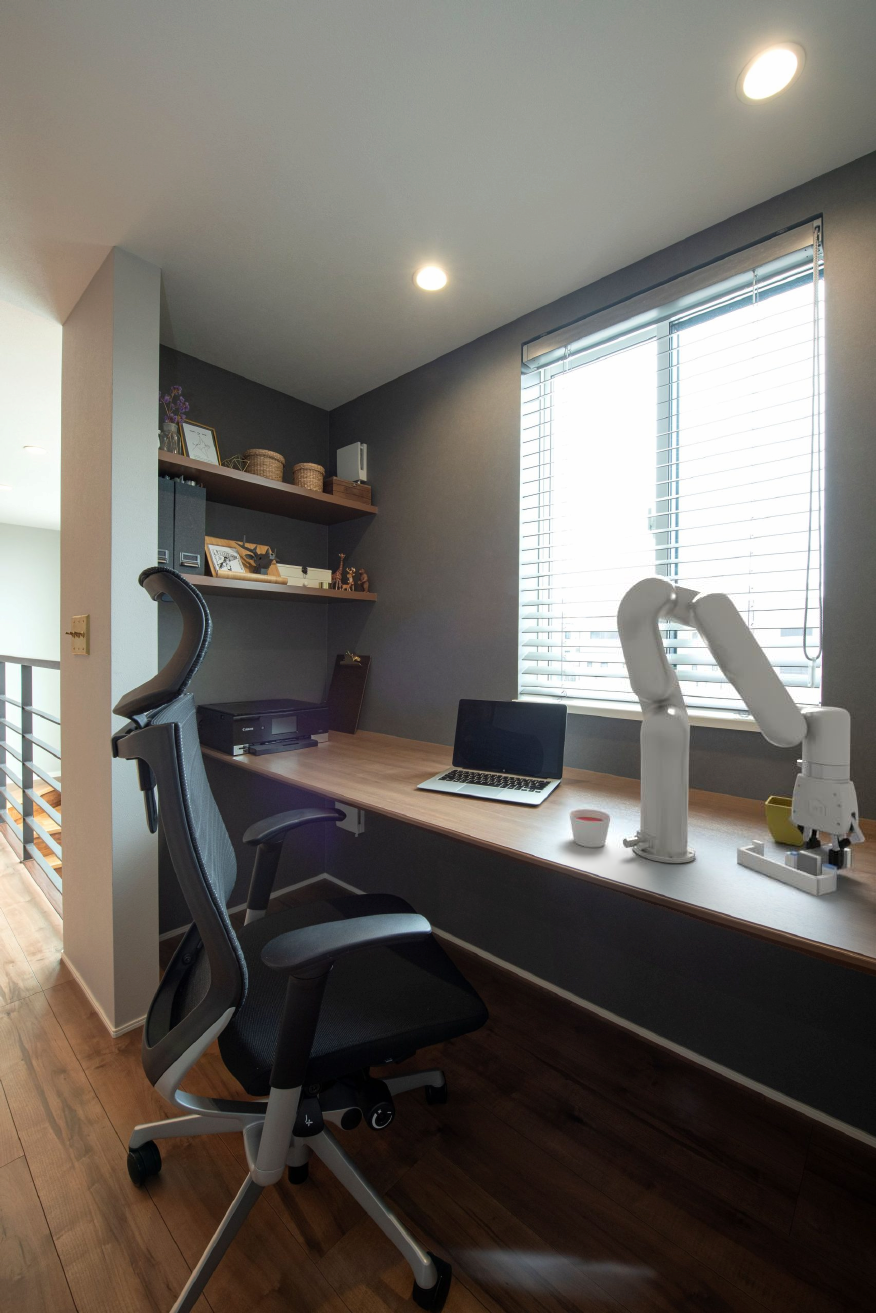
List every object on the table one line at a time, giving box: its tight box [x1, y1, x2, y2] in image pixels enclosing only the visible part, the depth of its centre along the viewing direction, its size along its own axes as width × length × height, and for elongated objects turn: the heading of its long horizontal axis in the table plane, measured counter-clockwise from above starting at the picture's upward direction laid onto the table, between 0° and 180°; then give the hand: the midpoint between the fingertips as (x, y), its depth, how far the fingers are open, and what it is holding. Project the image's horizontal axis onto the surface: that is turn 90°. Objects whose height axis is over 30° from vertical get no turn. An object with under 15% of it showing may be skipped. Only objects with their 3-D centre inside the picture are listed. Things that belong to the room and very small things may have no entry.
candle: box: [569, 808, 611, 849], centre depth 124 cm, size 9×9×6 cm
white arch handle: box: [736, 839, 838, 897], centre depth 107 cm, size 6×16×4 cm, turn 23°
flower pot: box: [764, 795, 806, 847], centre depth 125 cm, size 9×9×9 cm
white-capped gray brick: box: [796, 843, 853, 877], centre depth 106 cm, size 11×4×4 cm, turn 113°
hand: (824, 863), depth 106 cm, fingers closed on white-capped gray brick, 3 cm apart
